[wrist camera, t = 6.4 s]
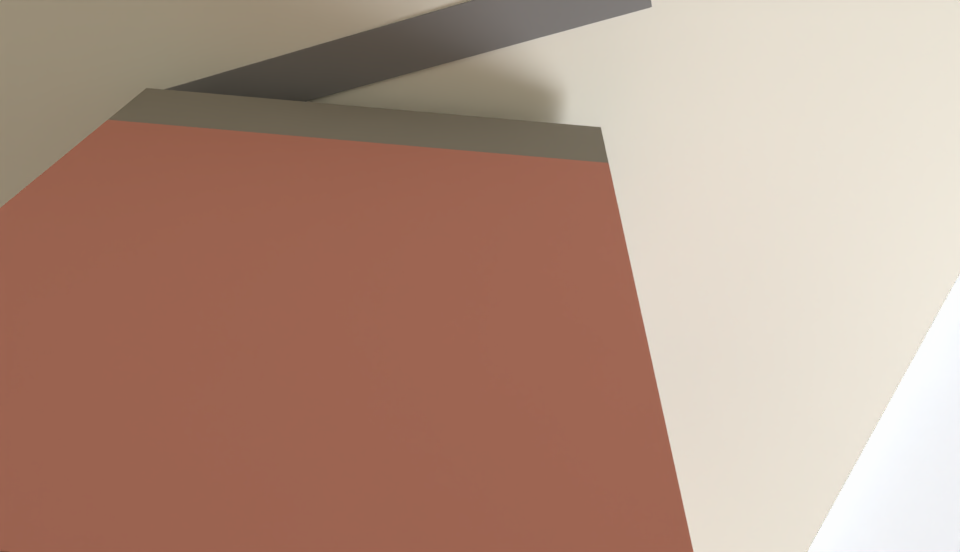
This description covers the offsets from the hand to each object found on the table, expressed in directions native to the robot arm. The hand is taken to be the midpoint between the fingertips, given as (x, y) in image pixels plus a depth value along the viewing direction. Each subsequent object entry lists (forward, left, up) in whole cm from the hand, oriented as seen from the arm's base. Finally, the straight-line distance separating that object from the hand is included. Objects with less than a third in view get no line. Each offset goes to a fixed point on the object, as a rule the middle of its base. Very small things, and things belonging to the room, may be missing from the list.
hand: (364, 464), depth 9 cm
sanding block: (0, 0, -1) cm, 1 cm away
